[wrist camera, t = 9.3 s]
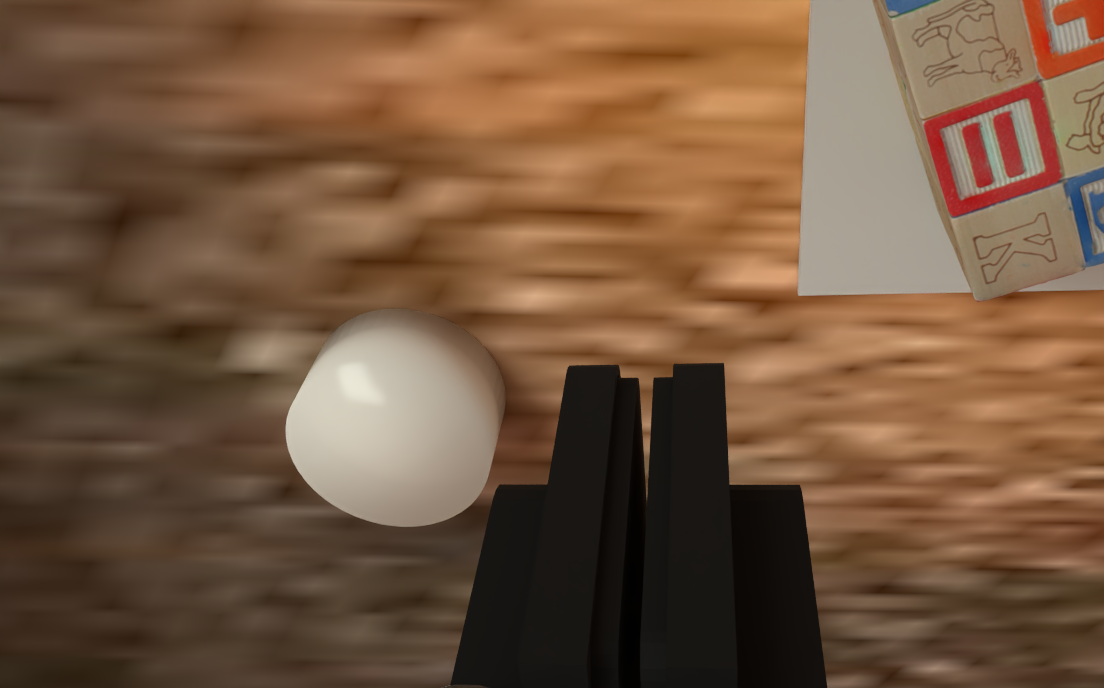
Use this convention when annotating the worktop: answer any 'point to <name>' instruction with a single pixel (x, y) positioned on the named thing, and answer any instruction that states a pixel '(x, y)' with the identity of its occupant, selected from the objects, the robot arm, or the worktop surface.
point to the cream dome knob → (398, 418)
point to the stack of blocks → (1007, 130)
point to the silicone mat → (871, 174)
